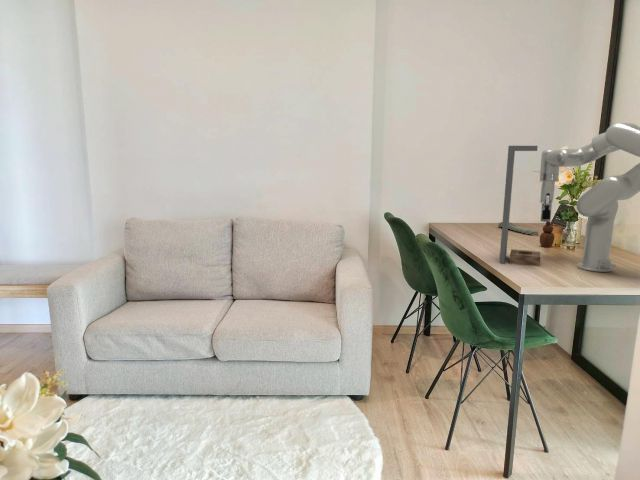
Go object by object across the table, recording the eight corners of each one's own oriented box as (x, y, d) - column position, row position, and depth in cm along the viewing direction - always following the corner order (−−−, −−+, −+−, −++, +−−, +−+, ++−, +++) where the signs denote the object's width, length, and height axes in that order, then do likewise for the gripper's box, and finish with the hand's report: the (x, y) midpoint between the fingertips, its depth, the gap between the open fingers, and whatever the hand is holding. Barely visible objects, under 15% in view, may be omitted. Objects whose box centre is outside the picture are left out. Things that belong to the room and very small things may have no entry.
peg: (552, 221, 216) (553, 203, 214) (544, 221, 215) (546, 204, 213) (545, 220, 220) (547, 203, 218) (538, 220, 218) (540, 203, 217)
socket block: (539, 260, 214) (540, 251, 213) (539, 266, 203) (540, 256, 202) (510, 257, 219) (511, 249, 218) (509, 263, 208) (510, 254, 207)
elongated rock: (528, 238, 278) (542, 239, 281) (529, 229, 277) (544, 230, 280) (493, 226, 311) (506, 226, 314) (494, 218, 310) (507, 218, 313)
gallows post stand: (527, 258, 218) (537, 146, 209) (526, 265, 203) (537, 145, 194) (501, 256, 222) (510, 146, 213) (499, 263, 208) (508, 145, 199)
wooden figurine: (544, 248, 242) (547, 218, 240) (536, 246, 248) (539, 217, 245) (555, 247, 244) (558, 218, 242) (547, 245, 250) (550, 216, 247)
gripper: (539, 177, 223) (536, 216, 226) (540, 178, 208) (536, 220, 211) (557, 177, 220) (554, 217, 223) (559, 178, 205) (555, 221, 208)
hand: (545, 218), depth 217 cm, fingers closed on peg, 4 cm apart
